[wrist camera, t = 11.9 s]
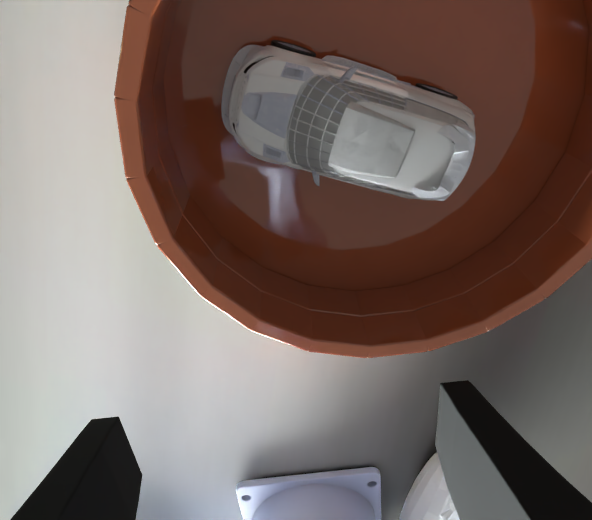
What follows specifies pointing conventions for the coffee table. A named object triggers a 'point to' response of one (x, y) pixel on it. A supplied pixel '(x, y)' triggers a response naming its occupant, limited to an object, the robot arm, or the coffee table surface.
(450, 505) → the white faceted piece
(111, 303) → the coffee table surface
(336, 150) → the toy car
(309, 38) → the bowl
